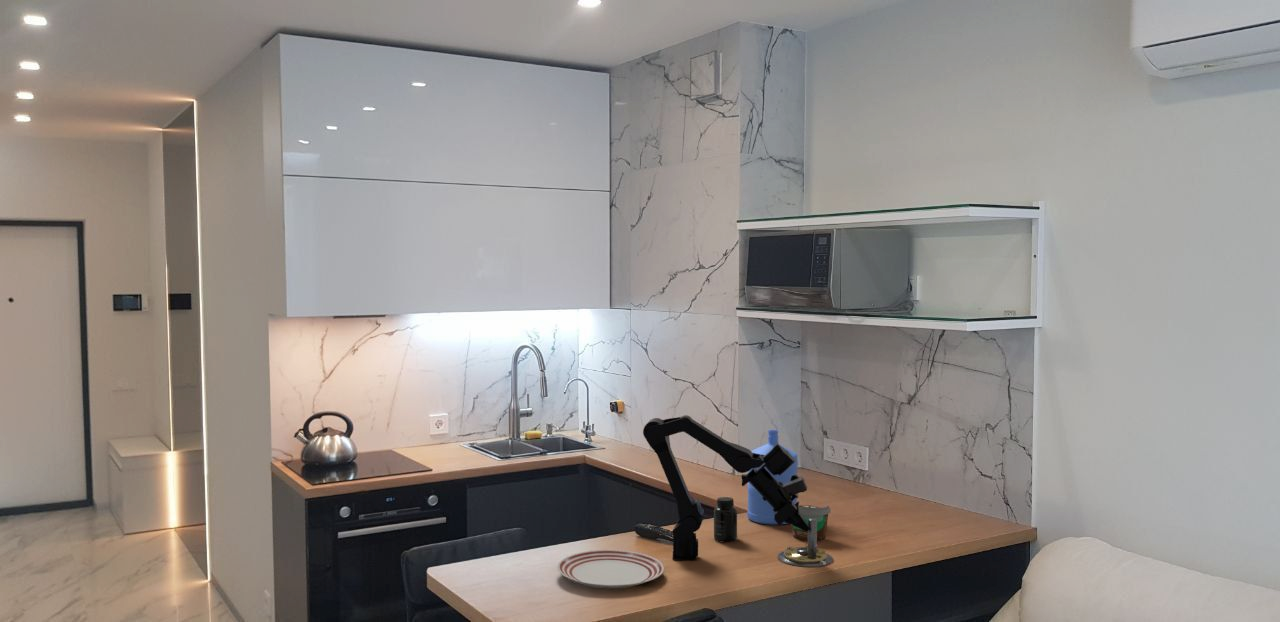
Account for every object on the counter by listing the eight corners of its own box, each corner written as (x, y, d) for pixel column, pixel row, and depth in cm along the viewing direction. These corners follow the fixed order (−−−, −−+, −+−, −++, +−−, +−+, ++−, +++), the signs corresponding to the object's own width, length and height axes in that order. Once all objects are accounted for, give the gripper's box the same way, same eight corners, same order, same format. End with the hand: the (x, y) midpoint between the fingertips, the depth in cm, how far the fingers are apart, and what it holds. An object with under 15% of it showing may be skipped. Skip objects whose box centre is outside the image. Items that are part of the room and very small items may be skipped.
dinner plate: (685, 576, 253) (685, 564, 253) (612, 604, 233) (613, 590, 232) (608, 555, 271) (608, 543, 271) (534, 578, 251) (534, 565, 251)
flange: (780, 566, 261) (780, 558, 261) (774, 550, 276) (775, 541, 276) (837, 567, 260) (837, 559, 260) (828, 550, 275) (828, 542, 275)
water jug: (800, 526, 301) (801, 435, 300) (748, 525, 302) (749, 435, 301) (794, 513, 317) (795, 427, 316) (745, 512, 318) (746, 426, 316)
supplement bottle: (722, 534, 291) (722, 494, 291) (741, 538, 287) (742, 498, 286) (708, 539, 286) (709, 499, 285) (728, 544, 282) (728, 502, 281)
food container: (784, 540, 286) (784, 506, 285) (788, 534, 292) (789, 501, 291) (826, 544, 282) (827, 510, 281) (830, 539, 287) (830, 505, 287)
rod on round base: (777, 552, 272) (777, 511, 272) (815, 549, 275) (816, 508, 275) (793, 564, 261) (794, 522, 261) (833, 561, 264) (834, 519, 263)
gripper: (788, 473, 254) (830, 518, 252) (791, 460, 272) (830, 502, 271) (757, 501, 256) (798, 546, 254) (761, 487, 274) (800, 529, 272)
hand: (808, 530), depth 263 cm, fingers closed, pressing on rod on round base
